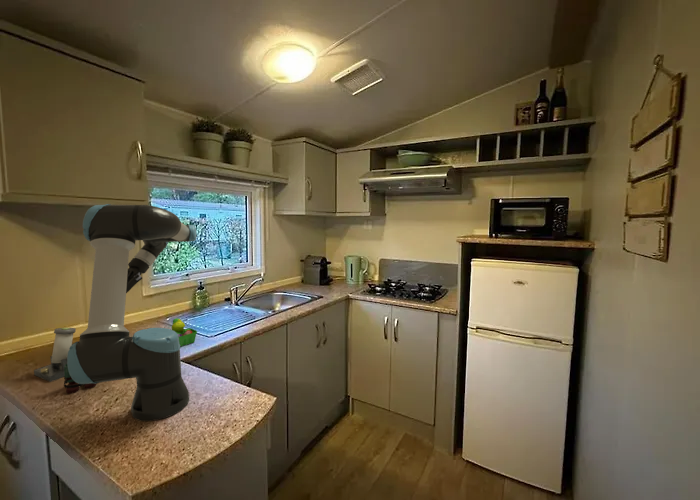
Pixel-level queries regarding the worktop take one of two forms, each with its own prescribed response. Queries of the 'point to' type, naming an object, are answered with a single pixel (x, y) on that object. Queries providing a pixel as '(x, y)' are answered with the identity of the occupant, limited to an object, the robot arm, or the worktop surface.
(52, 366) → the tribrach base
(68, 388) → the binoculars
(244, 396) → the worktop surface
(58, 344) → the grey lidded cylinder
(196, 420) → the worktop surface
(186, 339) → the fruit basket
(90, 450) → the worktop surface
